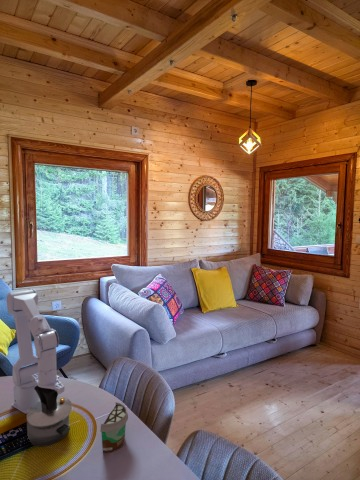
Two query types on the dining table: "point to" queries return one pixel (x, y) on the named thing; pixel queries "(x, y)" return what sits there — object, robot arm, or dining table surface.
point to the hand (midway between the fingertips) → (48, 406)
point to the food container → (114, 429)
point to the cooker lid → (49, 413)
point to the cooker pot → (48, 433)
